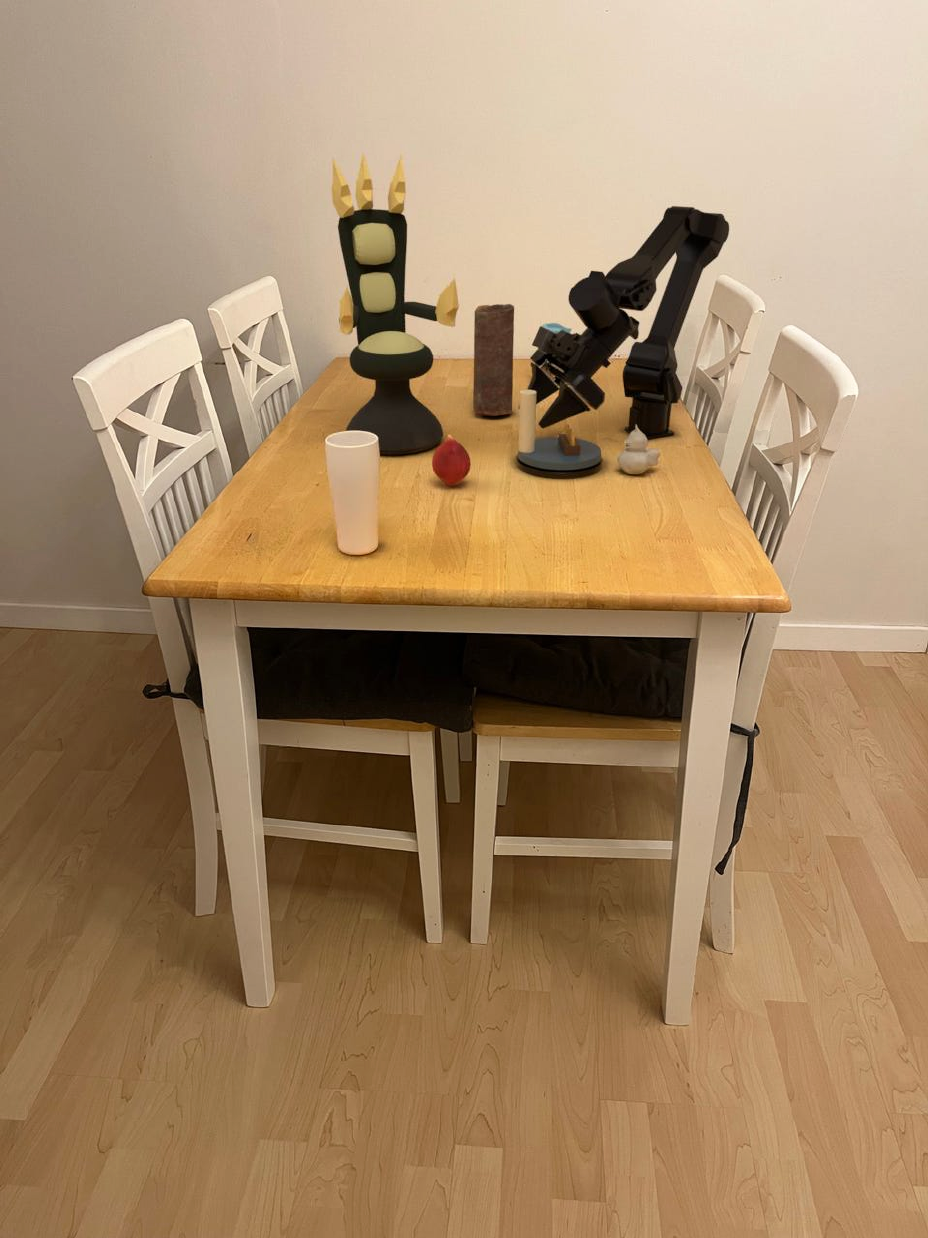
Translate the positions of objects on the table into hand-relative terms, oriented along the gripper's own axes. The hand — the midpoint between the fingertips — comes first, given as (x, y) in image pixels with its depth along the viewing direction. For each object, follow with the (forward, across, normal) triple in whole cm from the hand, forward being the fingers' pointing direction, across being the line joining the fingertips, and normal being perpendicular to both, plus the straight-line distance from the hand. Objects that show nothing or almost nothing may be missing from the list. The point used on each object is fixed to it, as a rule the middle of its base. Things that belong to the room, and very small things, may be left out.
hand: (530, 418), depth 153 cm
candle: (+3, -28, +8) cm, 29 cm away
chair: (-11, -47, +22) cm, 53 cm away
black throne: (+19, -19, -8) cm, 28 cm away
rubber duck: (-5, +10, +16) cm, 19 cm away
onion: (+16, +6, -5) cm, 18 cm away
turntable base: (+2, +2, +8) cm, 9 cm away
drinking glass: (+29, +26, -18) cm, 43 cm away
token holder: (+1, +2, +8) cm, 8 cm away
